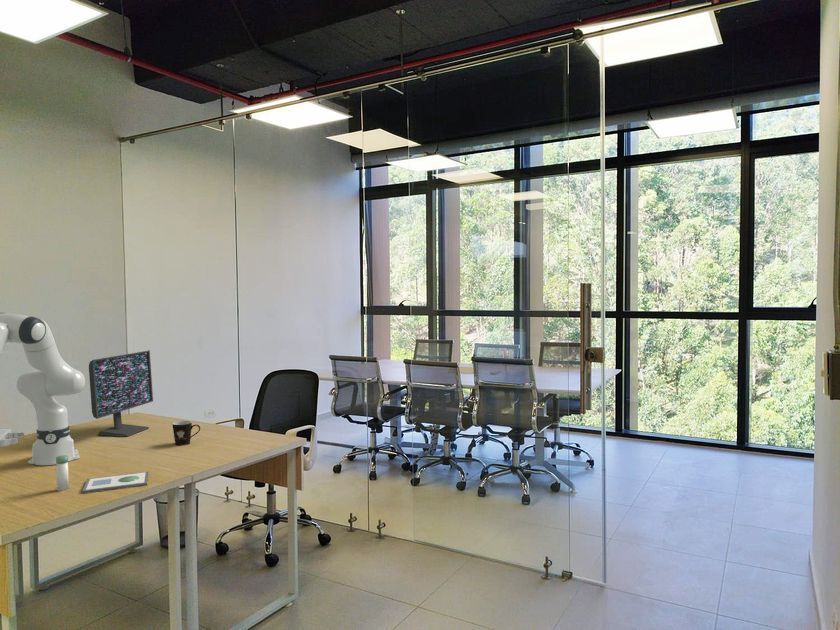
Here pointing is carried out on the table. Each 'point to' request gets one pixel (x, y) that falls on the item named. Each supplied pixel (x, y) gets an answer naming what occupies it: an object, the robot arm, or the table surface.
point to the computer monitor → (120, 389)
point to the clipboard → (115, 482)
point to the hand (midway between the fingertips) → (20, 437)
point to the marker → (62, 473)
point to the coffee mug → (183, 432)
